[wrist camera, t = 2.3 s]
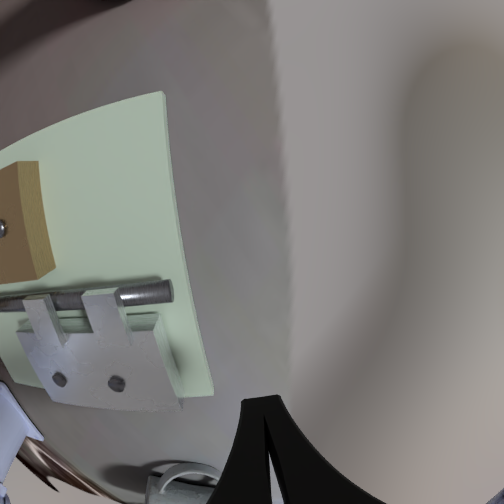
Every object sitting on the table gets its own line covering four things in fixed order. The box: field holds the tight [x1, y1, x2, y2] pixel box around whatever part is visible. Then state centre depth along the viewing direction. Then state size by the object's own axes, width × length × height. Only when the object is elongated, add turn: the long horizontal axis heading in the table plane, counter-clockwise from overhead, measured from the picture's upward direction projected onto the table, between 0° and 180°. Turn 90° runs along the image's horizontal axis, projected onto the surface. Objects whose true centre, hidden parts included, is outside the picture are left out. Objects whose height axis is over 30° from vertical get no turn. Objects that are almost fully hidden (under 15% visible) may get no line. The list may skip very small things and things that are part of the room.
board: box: [0, 91, 214, 397], centre depth 12 cm, size 17×16×1 cm
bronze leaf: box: [0, 161, 174, 313], centre depth 10 cm, size 16×8×2 cm, turn 96°
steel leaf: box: [16, 287, 185, 411], centre depth 11 cm, size 9×7×2 cm
